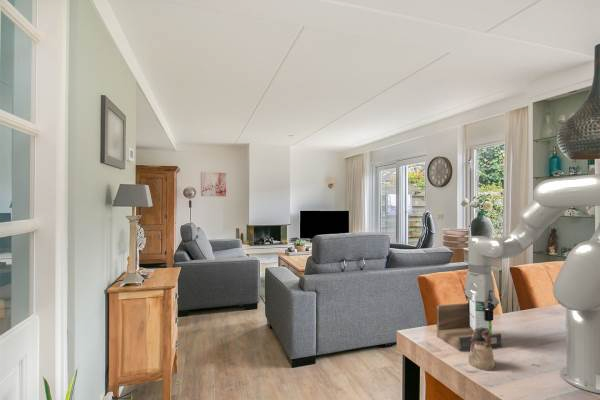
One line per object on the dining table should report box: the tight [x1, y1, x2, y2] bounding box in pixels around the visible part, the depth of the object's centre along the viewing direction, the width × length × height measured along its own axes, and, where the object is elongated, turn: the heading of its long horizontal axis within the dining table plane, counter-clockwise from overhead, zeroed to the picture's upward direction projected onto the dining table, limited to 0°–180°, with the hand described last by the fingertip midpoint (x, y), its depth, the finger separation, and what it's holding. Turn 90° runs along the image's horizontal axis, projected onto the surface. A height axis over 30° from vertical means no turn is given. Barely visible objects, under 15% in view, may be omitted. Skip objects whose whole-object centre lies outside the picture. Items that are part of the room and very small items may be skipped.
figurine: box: [468, 327, 496, 371], centre depth 101 cm, size 7×7×12 cm
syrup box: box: [469, 291, 493, 334], centre depth 118 cm, size 6×6×14 cm
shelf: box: [436, 302, 502, 352], centre depth 119 cm, size 13×17×12 cm
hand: (480, 316), depth 118 cm, fingers closed on syrup box, 7 cm apart
